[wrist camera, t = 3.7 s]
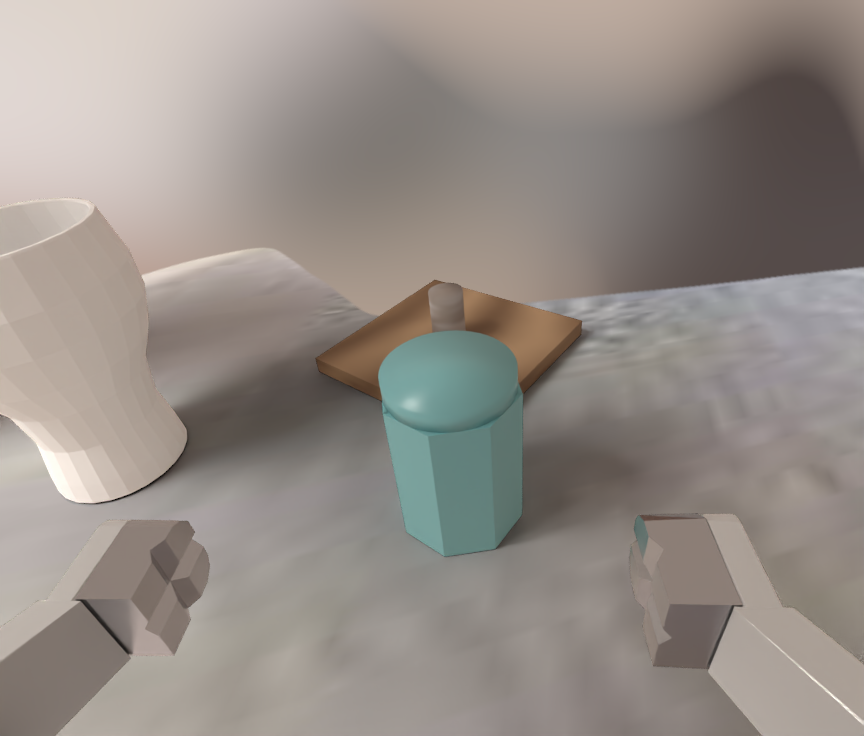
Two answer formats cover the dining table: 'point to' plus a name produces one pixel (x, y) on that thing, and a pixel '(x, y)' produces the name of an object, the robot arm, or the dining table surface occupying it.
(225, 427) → the dining table surface
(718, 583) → the robot arm
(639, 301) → the dining table surface
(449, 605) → the dining table surface
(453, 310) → the square wooden board
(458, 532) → the teal octagonal jar
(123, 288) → the cup
